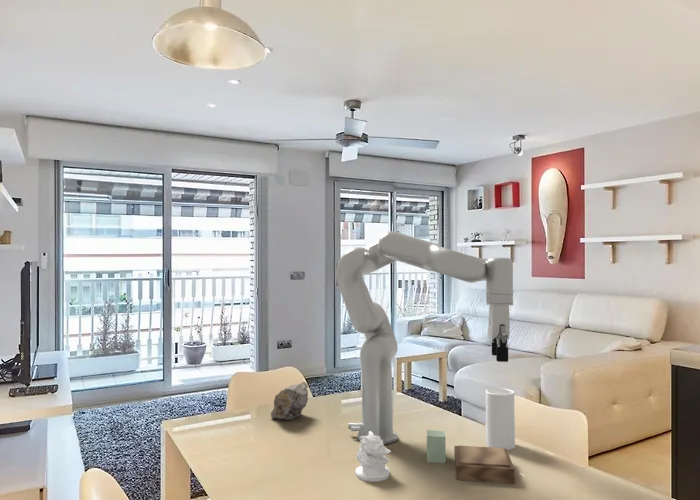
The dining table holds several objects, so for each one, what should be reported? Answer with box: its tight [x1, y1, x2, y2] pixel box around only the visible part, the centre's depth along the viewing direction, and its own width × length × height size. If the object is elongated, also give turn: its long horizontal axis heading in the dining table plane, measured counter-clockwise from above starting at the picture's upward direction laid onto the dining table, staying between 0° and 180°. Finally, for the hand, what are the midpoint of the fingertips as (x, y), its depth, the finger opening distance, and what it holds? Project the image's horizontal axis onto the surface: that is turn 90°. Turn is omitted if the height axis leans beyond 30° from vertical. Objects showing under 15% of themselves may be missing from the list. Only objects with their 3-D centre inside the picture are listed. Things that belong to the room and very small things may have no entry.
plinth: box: [453, 444, 516, 484], centre depth 131 cm, size 14×14×4 cm
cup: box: [485, 387, 516, 451], centre depth 150 cm, size 8×8×16 cm
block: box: [426, 429, 447, 464], centre depth 139 cm, size 5×5×7 cm
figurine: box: [354, 431, 392, 483], centre depth 129 cm, size 12×9×10 cm
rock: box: [270, 381, 309, 421], centre depth 177 cm, size 16×10×15 cm, turn 157°
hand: (499, 358), depth 146 cm, fingers open, 9 cm apart
